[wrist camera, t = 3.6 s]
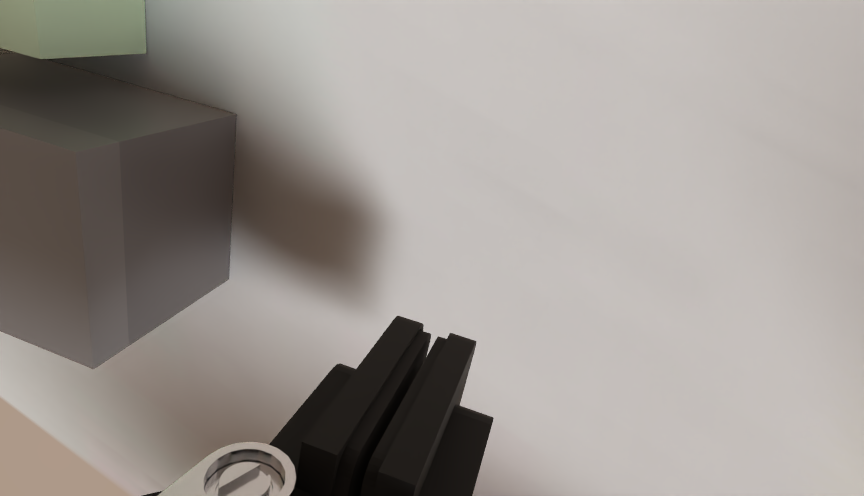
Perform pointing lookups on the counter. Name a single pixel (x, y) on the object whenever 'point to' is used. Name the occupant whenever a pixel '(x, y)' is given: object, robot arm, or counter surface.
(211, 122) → the gray stepped block
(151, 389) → the counter surface
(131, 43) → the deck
